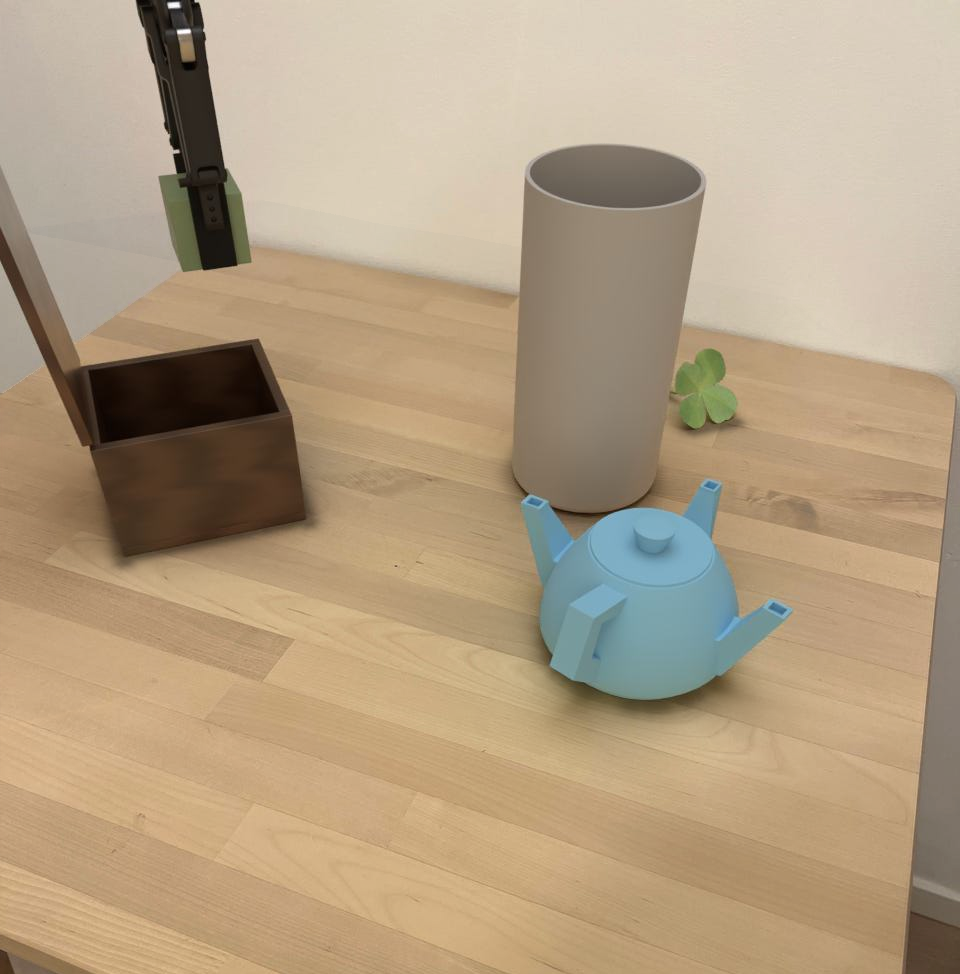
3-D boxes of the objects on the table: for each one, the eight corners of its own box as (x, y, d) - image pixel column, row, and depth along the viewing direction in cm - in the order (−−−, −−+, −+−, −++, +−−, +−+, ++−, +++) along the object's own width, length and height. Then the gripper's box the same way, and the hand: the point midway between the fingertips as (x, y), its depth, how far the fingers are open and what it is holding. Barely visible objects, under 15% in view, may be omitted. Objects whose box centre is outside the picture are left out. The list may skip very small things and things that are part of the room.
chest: (274, 437, 88) (258, 337, 81) (306, 518, 79) (292, 415, 72) (108, 468, 84) (76, 366, 77) (123, 557, 76) (90, 451, 69)
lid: (-5, 154, 65) (-17, 156, 65) (-1, 225, 57) (-15, 228, 57) (80, 360, 77) (70, 362, 77) (93, 444, 68) (82, 447, 68)
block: (172, 245, 80) (157, 175, 76) (238, 236, 81) (227, 167, 77) (182, 272, 76) (168, 201, 72) (252, 263, 78) (241, 192, 74)
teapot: (511, 578, 75) (517, 462, 67) (699, 562, 76) (726, 447, 69) (550, 730, 64) (562, 612, 56) (767, 707, 66) (808, 590, 58)
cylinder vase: (662, 519, 80) (720, 212, 62) (512, 516, 80) (527, 208, 62) (646, 435, 89) (692, 145, 71) (510, 432, 89) (522, 141, 71)
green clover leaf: (678, 447, 96) (723, 445, 91) (620, 408, 92) (663, 403, 87) (705, 383, 97) (752, 377, 91) (649, 341, 93) (694, 331, 87)
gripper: (233, -85, 57) (284, 292, 74) (183, -129, 69) (236, 203, 86) (102, -79, 55) (184, 307, 72) (74, -125, 67) (150, 214, 84)
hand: (212, 250), depth 79 cm, fingers closed on block, 5 cm apart
